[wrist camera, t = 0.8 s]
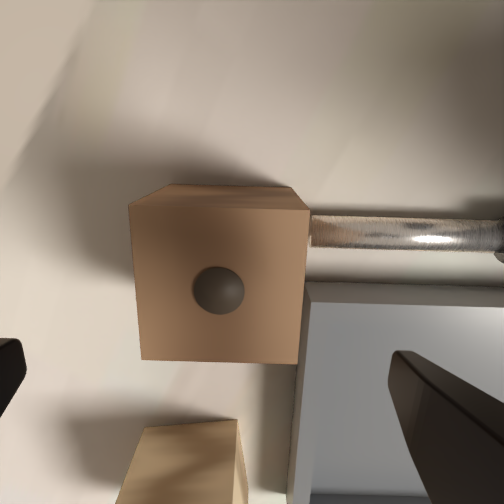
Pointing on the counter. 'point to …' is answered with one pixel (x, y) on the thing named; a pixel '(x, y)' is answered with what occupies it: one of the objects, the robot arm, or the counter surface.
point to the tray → (379, 381)
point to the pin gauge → (407, 234)
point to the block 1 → (219, 273)
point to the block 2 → (187, 466)
